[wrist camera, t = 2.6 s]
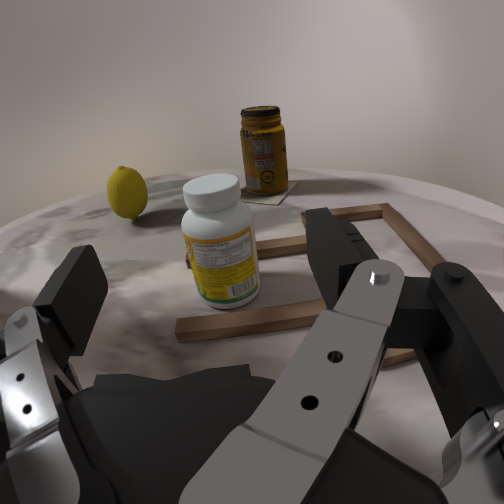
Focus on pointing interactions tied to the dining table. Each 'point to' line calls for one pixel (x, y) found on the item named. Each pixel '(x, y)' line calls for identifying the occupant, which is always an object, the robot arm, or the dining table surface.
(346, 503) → the robot arm
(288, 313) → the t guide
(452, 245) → the dining table surface
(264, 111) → the condiment
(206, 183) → the supplement bottle
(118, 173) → the lemon
